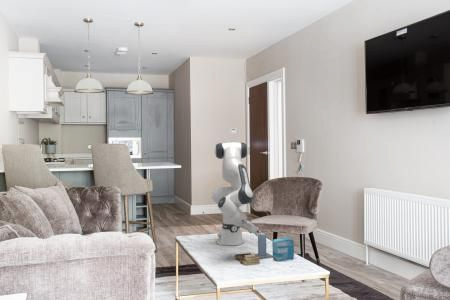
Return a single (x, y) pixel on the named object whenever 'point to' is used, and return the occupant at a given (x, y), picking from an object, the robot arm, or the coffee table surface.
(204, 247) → the coffee table surface
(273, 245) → the data package
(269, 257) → the felt mat
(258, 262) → the offcut stack
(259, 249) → the pale blue pillar
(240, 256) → the rack
